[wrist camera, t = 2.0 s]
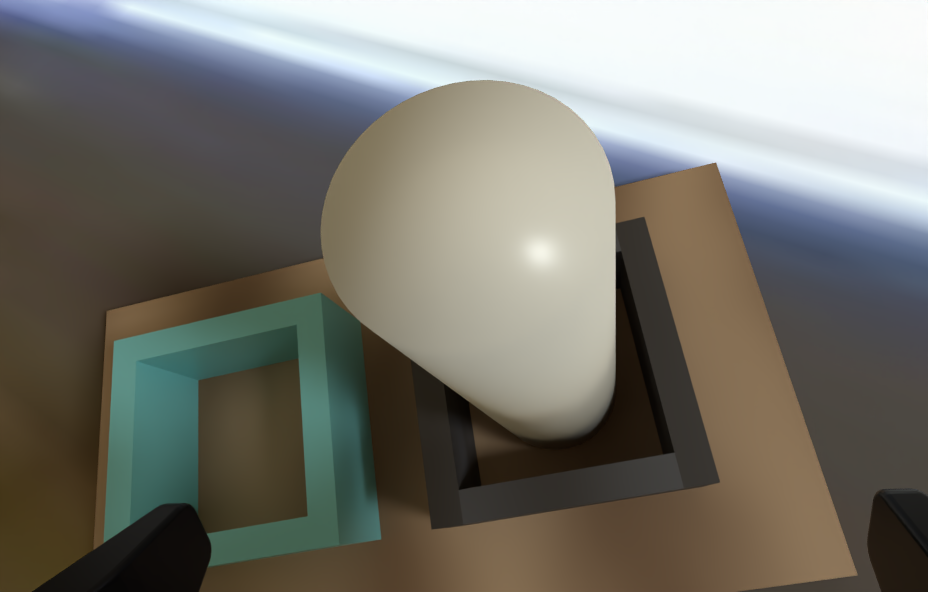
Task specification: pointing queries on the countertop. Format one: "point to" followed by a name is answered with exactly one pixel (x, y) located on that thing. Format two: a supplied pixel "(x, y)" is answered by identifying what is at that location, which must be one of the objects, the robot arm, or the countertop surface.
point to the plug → (486, 252)
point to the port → (176, 423)
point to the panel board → (532, 468)
